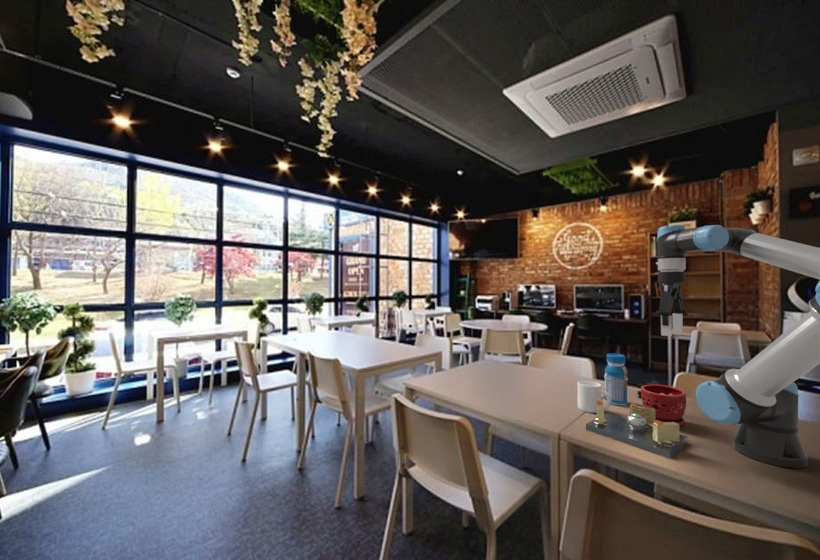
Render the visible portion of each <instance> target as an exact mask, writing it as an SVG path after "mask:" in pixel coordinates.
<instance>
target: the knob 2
mask: <svg viewBox="0 0 820 560" xmlns="http://www.w3.org/2000/svg"><path fill="white" fill-rule="evenodd" d="M652 426H653V440H655V441H657V442H661V443H663V444H666V445H672V444H673V441H679V434H680V426H679V424H677V423H675V422H660V421H653V424H652Z"/></svg>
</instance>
